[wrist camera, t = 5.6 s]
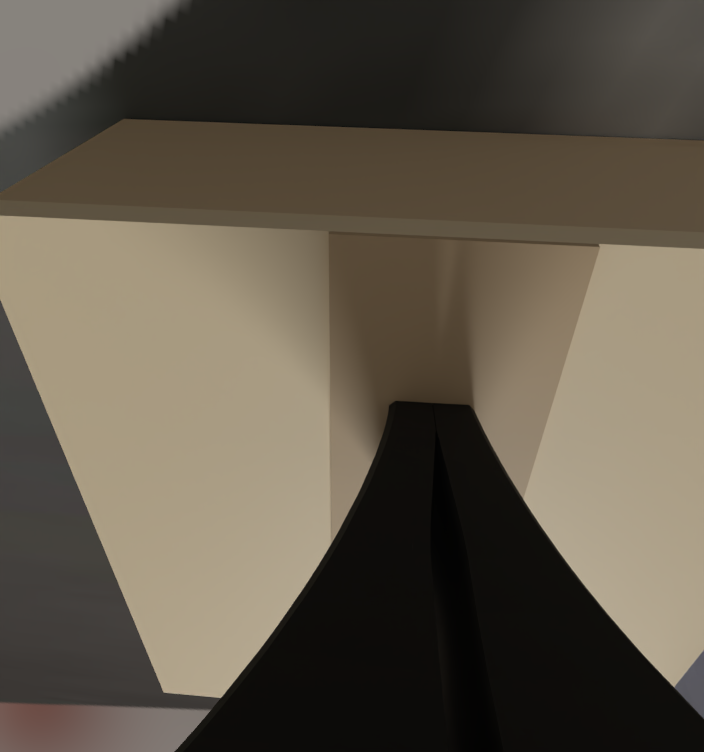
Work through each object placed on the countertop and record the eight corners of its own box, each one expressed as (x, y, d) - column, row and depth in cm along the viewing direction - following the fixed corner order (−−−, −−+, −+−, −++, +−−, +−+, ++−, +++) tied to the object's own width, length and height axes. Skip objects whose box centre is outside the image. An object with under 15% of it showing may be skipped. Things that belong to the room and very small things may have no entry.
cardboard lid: (974, 244, 8) (1018, 267, 7) (628, 714, 17) (635, 740, 16) (-10, 199, 8) (-40, 216, 8) (170, 672, 17) (162, 696, 17)
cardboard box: (781, 143, 12) (975, 244, 8) (585, 566, 21) (627, 712, 17) (123, 118, 12) (-12, 199, 8) (215, 537, 21) (171, 670, 18)
